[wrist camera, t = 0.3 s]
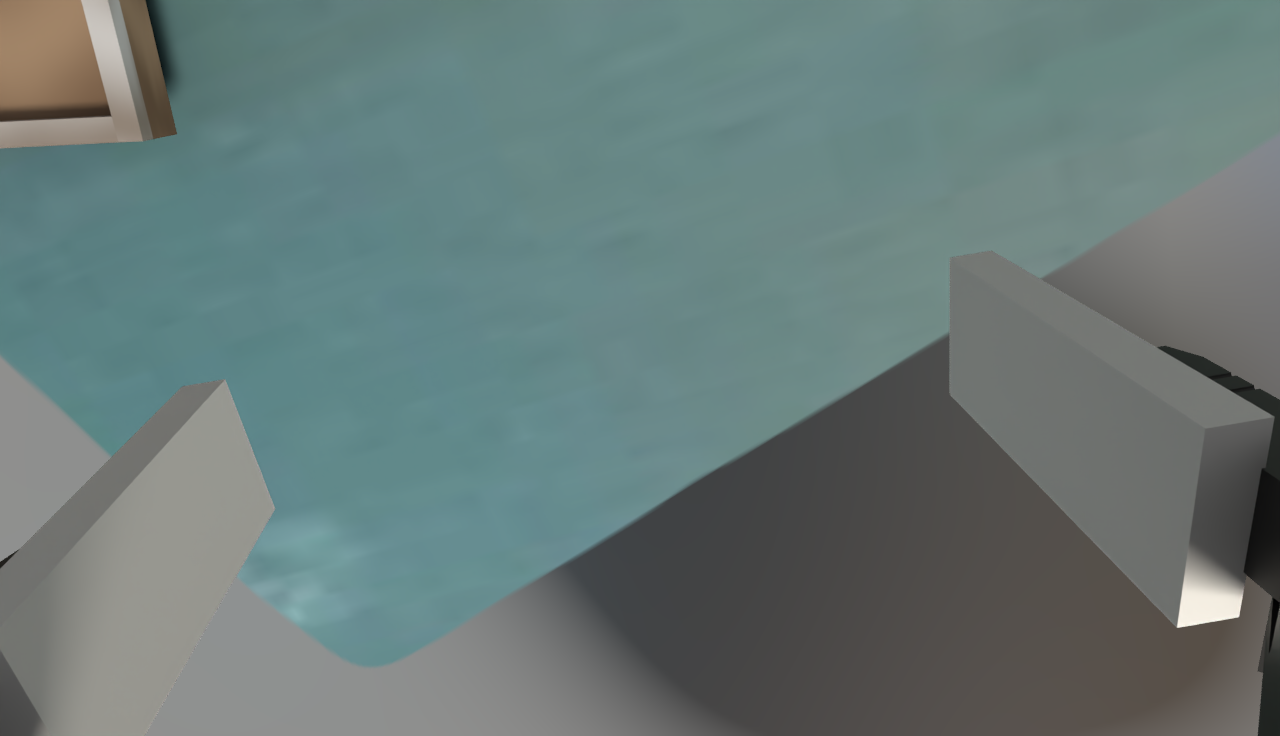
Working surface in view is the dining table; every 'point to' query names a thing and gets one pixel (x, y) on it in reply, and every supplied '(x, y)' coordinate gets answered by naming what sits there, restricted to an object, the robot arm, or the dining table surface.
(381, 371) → the dining table surface
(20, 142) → the shallow square tray
